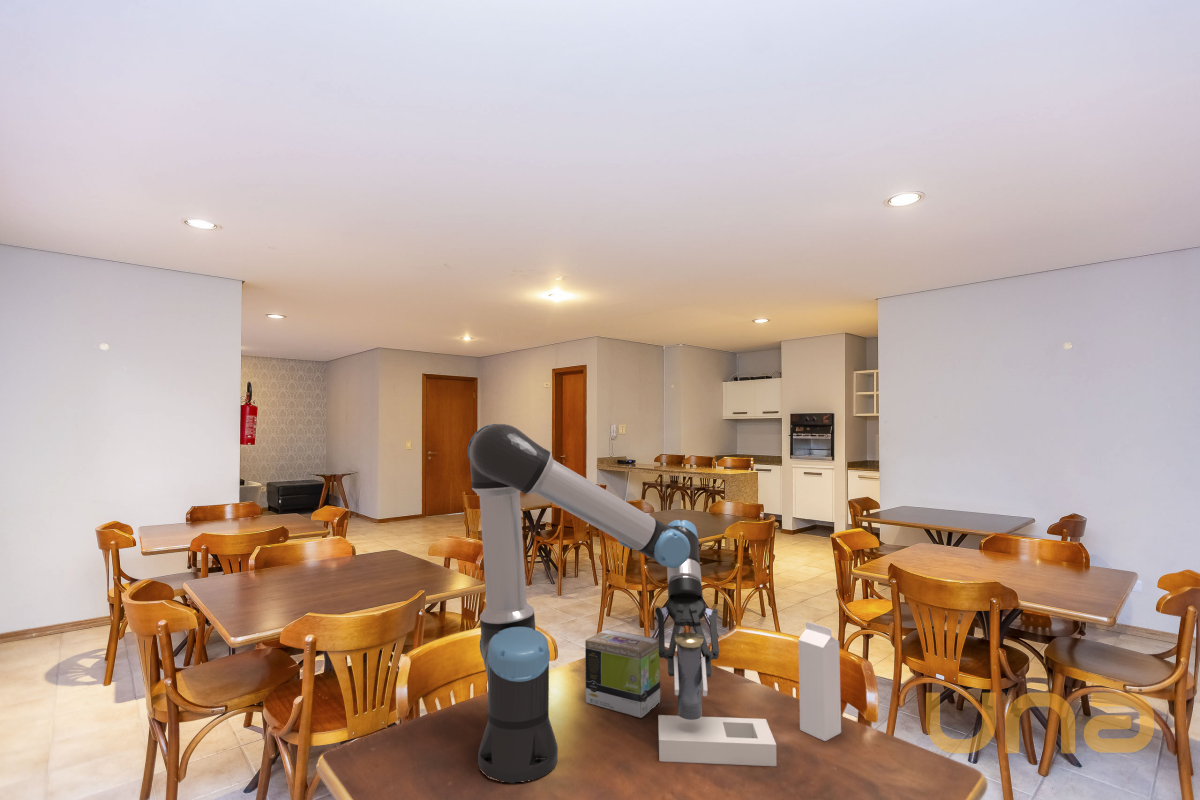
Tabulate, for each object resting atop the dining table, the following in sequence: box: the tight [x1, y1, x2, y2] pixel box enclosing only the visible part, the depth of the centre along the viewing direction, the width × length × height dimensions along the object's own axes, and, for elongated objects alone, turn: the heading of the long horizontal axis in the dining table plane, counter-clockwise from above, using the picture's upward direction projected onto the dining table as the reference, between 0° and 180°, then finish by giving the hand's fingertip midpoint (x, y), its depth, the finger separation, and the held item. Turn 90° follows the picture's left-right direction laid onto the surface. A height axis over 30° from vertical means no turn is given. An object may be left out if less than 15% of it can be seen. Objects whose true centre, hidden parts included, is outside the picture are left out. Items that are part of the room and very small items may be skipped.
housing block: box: [657, 714, 778, 767], centre depth 119 cm, size 22×10×4 cm, turn 85°
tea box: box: [584, 628, 661, 719], centre depth 139 cm, size 15×10×15 cm, turn 58°
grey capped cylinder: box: [674, 632, 704, 720], centre depth 120 cm, size 6×6×15 cm
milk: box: [798, 621, 842, 742], centre depth 126 cm, size 6×6×22 cm
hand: (690, 692), depth 116 cm, fingers closed on grey capped cylinder, 5 cm apart
